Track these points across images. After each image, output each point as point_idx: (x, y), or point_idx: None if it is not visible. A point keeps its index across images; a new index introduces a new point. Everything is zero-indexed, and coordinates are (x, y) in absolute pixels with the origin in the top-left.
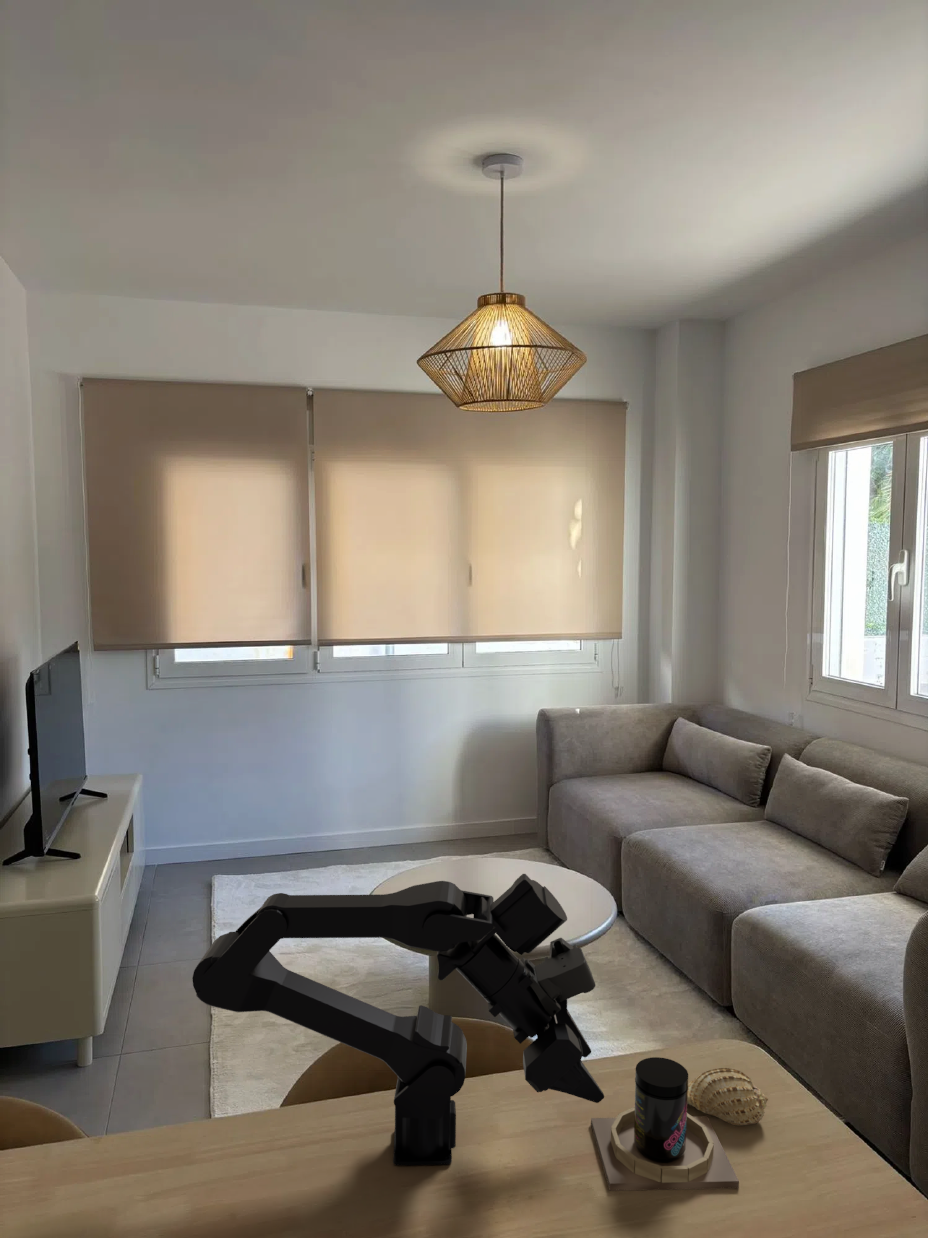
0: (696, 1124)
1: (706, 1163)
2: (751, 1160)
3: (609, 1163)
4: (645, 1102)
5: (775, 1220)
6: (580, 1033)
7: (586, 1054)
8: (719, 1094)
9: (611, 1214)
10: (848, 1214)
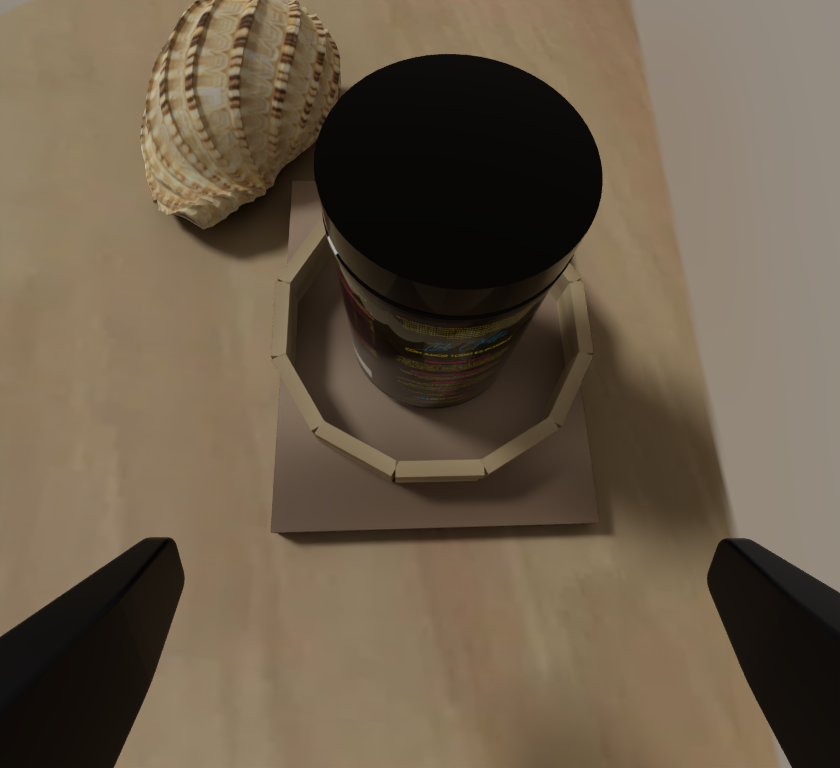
0: None
1: None
2: None
3: (507, 507)
4: (529, 314)
5: (639, 157)
6: (40, 656)
7: (177, 575)
8: (284, 95)
9: (683, 535)
10: (601, 32)
